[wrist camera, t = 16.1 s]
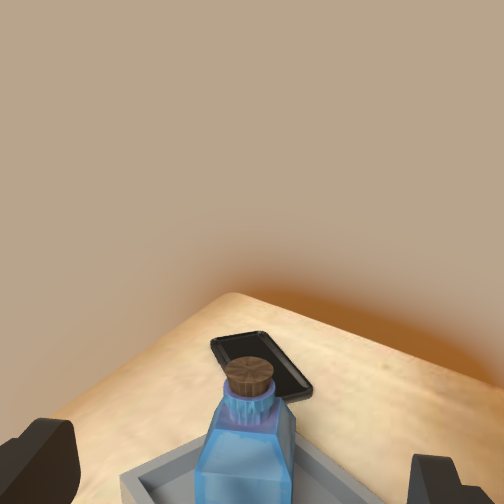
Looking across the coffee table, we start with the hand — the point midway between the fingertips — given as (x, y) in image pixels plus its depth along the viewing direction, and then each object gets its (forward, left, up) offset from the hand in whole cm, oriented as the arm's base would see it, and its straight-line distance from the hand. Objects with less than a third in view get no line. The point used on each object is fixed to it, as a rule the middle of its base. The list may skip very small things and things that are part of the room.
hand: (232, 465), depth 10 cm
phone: (-24, -30, -21) cm, 44 cm away
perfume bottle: (-11, -14, -20) cm, 27 cm away
